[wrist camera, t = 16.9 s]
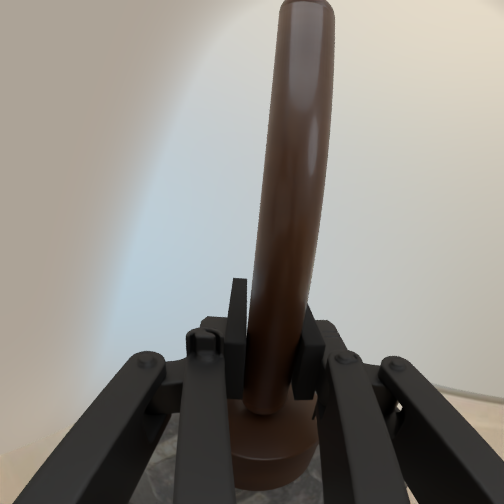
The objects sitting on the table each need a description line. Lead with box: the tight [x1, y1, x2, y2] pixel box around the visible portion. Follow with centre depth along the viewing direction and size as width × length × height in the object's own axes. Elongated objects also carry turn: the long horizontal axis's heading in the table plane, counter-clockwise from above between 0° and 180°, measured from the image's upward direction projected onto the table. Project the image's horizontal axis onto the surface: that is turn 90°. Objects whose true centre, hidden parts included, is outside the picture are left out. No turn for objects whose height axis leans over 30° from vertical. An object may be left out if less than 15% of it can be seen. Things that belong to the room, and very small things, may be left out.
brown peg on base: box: [227, 0, 335, 491], centre depth 10 cm, size 6×6×20 cm
